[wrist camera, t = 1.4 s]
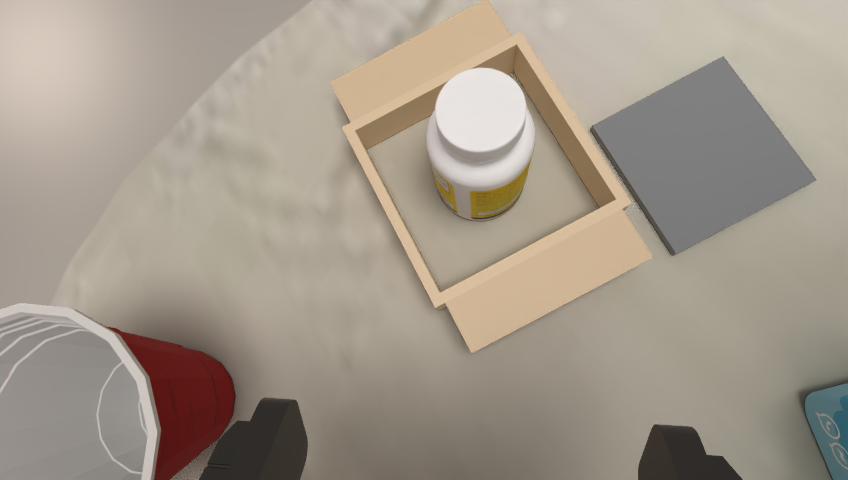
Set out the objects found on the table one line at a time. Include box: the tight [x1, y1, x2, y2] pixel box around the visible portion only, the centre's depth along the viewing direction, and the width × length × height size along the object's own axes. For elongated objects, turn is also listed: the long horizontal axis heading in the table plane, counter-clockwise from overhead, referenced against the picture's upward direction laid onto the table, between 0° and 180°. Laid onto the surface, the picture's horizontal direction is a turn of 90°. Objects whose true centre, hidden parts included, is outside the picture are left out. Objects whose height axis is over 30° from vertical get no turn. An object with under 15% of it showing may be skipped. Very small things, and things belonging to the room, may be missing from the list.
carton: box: [330, 0, 653, 353], centre depth 29 cm, size 12×18×3 cm, turn 27°
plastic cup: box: [0, 303, 235, 480], centre depth 24 cm, size 11×11×12 cm
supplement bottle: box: [426, 68, 535, 221], centre depth 26 cm, size 5×5×10 cm
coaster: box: [590, 56, 816, 256], centre depth 29 cm, size 9×9×1 cm
